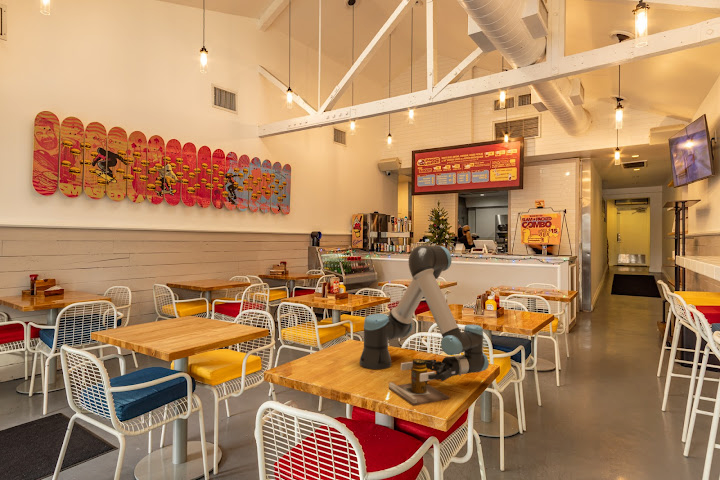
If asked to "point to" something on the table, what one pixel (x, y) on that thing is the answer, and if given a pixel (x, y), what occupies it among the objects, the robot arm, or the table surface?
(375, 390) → the table surface
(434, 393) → the dock board
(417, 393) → the condiment
